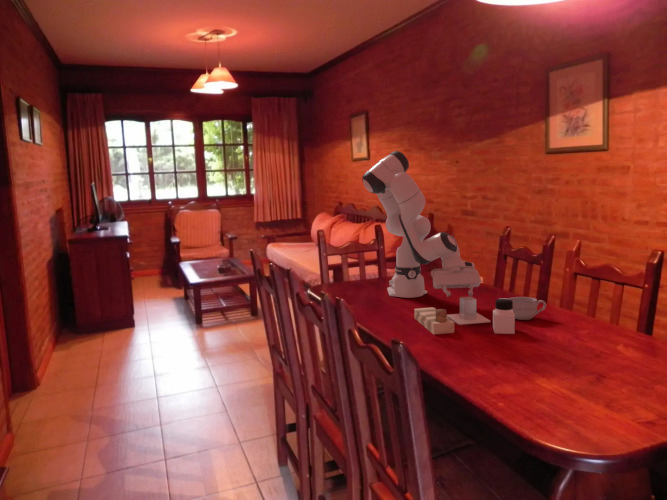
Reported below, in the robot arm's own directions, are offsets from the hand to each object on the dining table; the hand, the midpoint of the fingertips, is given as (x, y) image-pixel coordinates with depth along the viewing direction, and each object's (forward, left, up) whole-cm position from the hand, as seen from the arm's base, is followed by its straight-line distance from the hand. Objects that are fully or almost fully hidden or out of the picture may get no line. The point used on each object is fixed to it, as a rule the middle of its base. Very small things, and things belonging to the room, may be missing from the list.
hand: (459, 295), depth 225 cm
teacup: (+18, +20, -7) cm, 28 cm away
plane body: (+16, -18, -7) cm, 25 cm away
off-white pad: (+12, -2, -7) cm, 14 cm away
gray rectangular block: (+12, -2, -6) cm, 14 cm away
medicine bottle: (+30, +4, -7) cm, 31 cm away
